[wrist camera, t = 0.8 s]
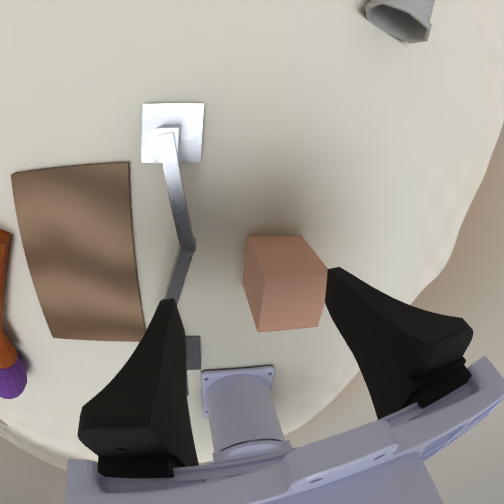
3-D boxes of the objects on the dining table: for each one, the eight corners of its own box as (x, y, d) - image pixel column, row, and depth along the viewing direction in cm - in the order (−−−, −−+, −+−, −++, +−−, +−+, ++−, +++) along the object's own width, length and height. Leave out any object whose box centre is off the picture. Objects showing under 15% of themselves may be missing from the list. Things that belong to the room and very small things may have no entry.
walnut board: (147, 337, 26) (146, 341, 25) (54, 333, 23) (53, 337, 23) (129, 161, 18) (127, 163, 18) (14, 172, 16) (10, 174, 16)
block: (292, 282, 26) (317, 326, 21) (242, 284, 25) (257, 332, 20) (301, 235, 24) (332, 274, 19) (246, 235, 23) (265, 277, 18)
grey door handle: (200, 363, 29) (205, 406, 24) (162, 364, 28) (161, 407, 23) (203, 103, 18) (208, 101, 13) (144, 104, 17) (128, 102, 12)
